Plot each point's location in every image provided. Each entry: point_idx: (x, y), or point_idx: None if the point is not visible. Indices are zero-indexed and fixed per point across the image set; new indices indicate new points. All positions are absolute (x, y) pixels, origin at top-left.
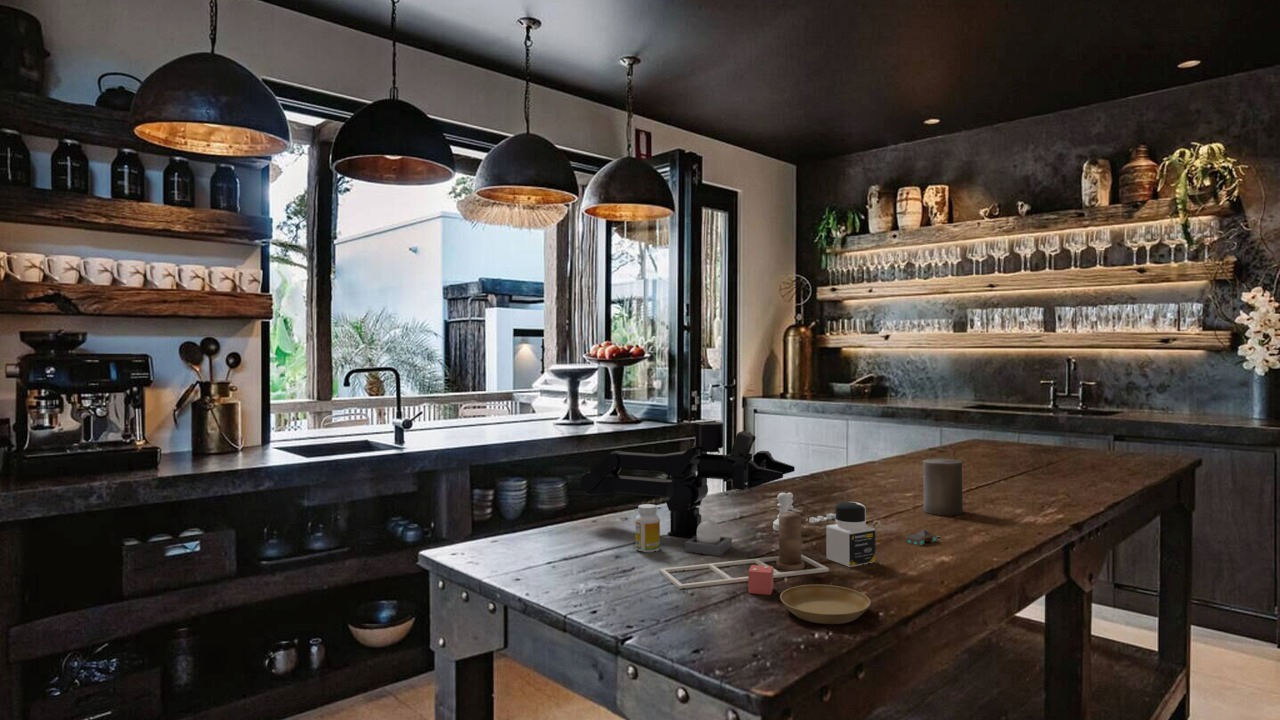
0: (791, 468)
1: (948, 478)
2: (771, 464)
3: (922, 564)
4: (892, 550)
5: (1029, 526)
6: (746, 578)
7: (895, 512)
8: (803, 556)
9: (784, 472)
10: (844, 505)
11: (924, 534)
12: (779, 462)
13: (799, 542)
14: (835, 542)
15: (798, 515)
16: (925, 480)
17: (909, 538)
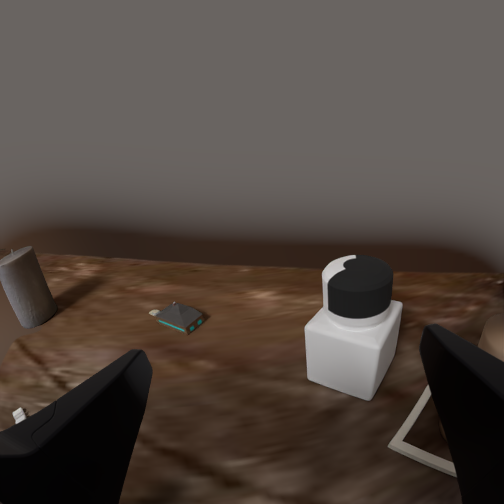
0: (141, 369)
1: (37, 267)
2: (51, 481)
3: (308, 303)
4: (246, 340)
5: (109, 270)
6: None
7: (22, 351)
8: (404, 429)
9: (133, 428)
10: (383, 267)
11: (187, 306)
12: (68, 412)
13: None
14: (387, 351)
15: (495, 320)
16: (16, 288)
17: (191, 324)
